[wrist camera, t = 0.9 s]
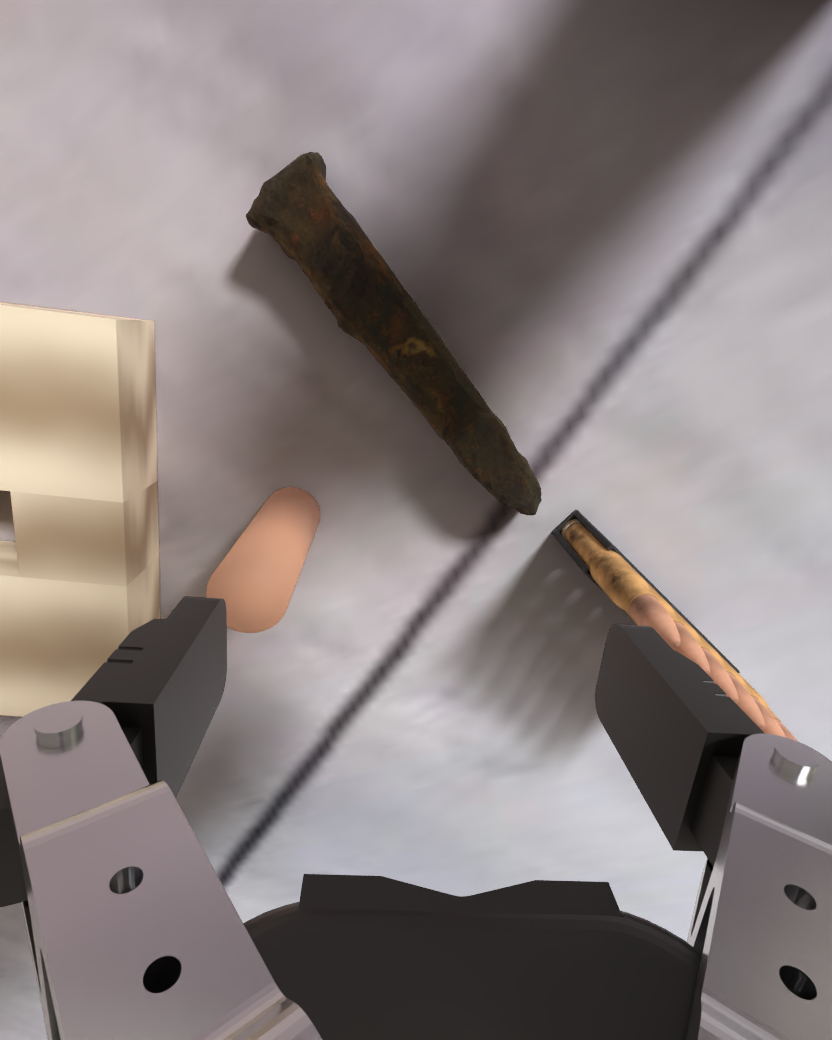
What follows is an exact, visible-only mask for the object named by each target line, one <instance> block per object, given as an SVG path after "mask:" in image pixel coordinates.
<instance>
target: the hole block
mask: <svg viewBox="0 0 832 1040" xmlns="http://www.w3.org/2000/svg"><path fill="white" fill-rule="evenodd" d="M0 490H2V491H10V493H11V503H12V512H13V522H14V531H15V541H16V542H13V541H3V540H0V715H6V716H20V717H23V716H25V715H27V714H29V713H31V712H33V711H35V710H38V709H40V708H43V707H46V706H49V705H52V704H57V703H61V702H68V701H71V700H72V699H73V698H74V696H75V695H76V694H77V693H78V692H79V691H80V690H81V688H82V687H83V686H84V685H85V684H86V683H87V682H88V680H89V679H90V678H91V677H92V676H93V675H94V674H95V672H96V671H97V670H98V669H99V668H100V667H101V666H102V664H103V663H104V662H107V659H108V658H109V656H110V655H111V654H112V653H113V652H114V651H115V650H116V649H118V646H119V645H120V644H121V643H122V642H123V640H124V639H125V638H126V637H127V636H128V635H129V634H130V632H131V631H133V630H135V629H136V628H138V627H140V626H142V625H144V624H145V623H147V622H149V621H151V620H153V619H160V574H159V526H158V478H157V430H156V383H155V335H154V321H149V320H141V319H133V318H125V317H117V316H109V315H101V314H93V313H85V312H77V311H69V310H61V309H53V308H45V307H37V306H29V305H21V304H13V303H5V302H0Z"/></svg>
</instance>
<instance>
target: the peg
mask: <svg viewBox="0 0 832 1040" xmlns="http://www.w3.org/2000/svg"><path fill="white" fill-rule="evenodd" d="M319 521H320V509H319V506H318V504H317V502H316V500H315V499H314V498H313V497H312V496H311V495H310V494H309V493H308V492H306V491H304V490H302V489H299V488H294V487H286V488H282V489H279V490H277V491H275V492H274V493H273V494H272V495H270V497H269V498H268V499H267V501H266V502H265V503H264V505H263V506H262V507H261V509H260V510H259V511H258V513H257V514H256V516H255V517H254V518H253V520H252V521H251V522H250V524H249V525H248V526H247V528H246V529H245V531H244V532H243V533H242V535H241V536H240V537H239V539H238V540H237V541H236V543H235V544H234V546H233V547H232V548H231V550H230V551H229V552H228V554H227V555H226V556H225V558H224V559H223V561H222V562H221V563H220V565H219V566H218V567H217V569H216V570H215V571H214V573H213V574H212V576H211V577H210V579H209V581H208V584H207V588H206V598H220V599H224V600H225V603H226V620H227V627H228V628H230V629H233V630H235V631H239V632H245V633H256V632H261V631H264V630H267V629H269V628H271V627H273V626H274V625H276V624H277V623H278V622H279V621H280V620H281V619H282V617H283V616H284V614H285V612H286V610H287V607H288V604H289V602H290V599H291V596H292V594H293V591H294V588H295V586H296V583H297V580H298V578H299V575H300V572H301V570H302V567H303V564H304V562H305V559H306V556H307V554H308V551H309V548H310V546H311V543H312V540H313V538H314V535H315V532H316V530H317V527H318V524H319Z"/></svg>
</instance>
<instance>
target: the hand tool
mask: <svg viewBox="0 0 832 1040" xmlns="http://www.w3.org/2000/svg"><path fill="white" fill-rule="evenodd" d="M246 218H247V220H248V223H249V224H250V225H251V226H252V227H253V228H256V229H258V230H260V231H263V232H265V233H267V234H269V235H271V236H272V237H273V238H274V239H275V240H276V241H277V242H278V243H279V244H280V246H281V247H282V249H283V251H284V252H285V254H286V255H287V256H288V257H290V258H293V259H295V260H296V261H297V262H298V263H299V265H300V266H301V268H302V269H303V271H304V272H305V274H306V275H307V276H308V277H309V279H310V281H311V282H312V284H313V285H314V287H315V289H316V290H317V292H318V293H319V294H320V296H321V297H322V298H323V299H324V301H325V304H326V305H327V307H328V308H329V309H330V310H331V311H332V312H333V314H334V315H335V316H336V318H337V321H338V325H339V327H340V328H341V329H342V330H343V331H344V332H346V333H348V334H350V335H351V336H353V337H354V338H356V339H358V340H359V341H361V342H362V343H364V344H365V345H366V347H367V348H368V349H369V351H370V352H371V353H372V354H373V355H374V356H375V358H376V359H377V361H378V362H379V363H380V364H381V365H382V366H383V368H384V369H385V370H386V371H387V372H388V373H389V375H390V376H391V377H392V378H393V379H394V380H395V382H396V383H397V384H398V385H399V386H400V387H401V388H402V390H403V391H404V392H405V393H406V394H407V396H408V397H409V398H410V400H411V401H412V402H413V404H414V405H415V406H416V407H417V408H418V409H419V410H420V412H421V413H422V414H423V415H424V416H425V417H426V419H427V420H428V421H429V423H430V424H431V426H432V427H433V428H434V430H435V431H436V432H437V434H438V435H439V436H440V437H441V438H442V439H444V440H445V441H446V443H447V444H448V445H449V446H450V448H451V449H452V450H453V452H454V453H455V455H456V456H457V458H458V459H459V461H460V462H461V463H462V464H463V465H464V467H465V468H466V469H467V470H468V471H469V472H470V473H471V474H472V476H473V477H474V478H475V479H476V480H478V481H479V482H480V483H481V484H482V485H483V486H484V487H485V488H486V489H487V490H488V491H489V492H490V493H491V494H492V495H493V496H495V497H496V498H497V499H498V500H499V501H500V502H501V503H503V504H504V505H508V506H509V507H512V508H514V509H516V510H517V511H518V512H520V513H521V514H525V515H535V514H536V512H537V509H538V506H539V504H540V502H541V488H540V485H539V483H538V481H537V479H536V477H535V475H534V474H533V472H532V470H531V468H530V466H529V464H528V462H527V460H526V458H524V457H523V456H522V455H521V454H520V453H519V452H518V451H517V449H516V447H515V445H514V443H513V441H512V440H511V438H510V436H509V433H508V431H507V429H506V427H505V426H504V424H503V423H502V421H501V420H500V419H499V418H498V417H497V416H495V415H494V414H493V413H492V411H491V410H490V408H489V407H488V406H487V404H486V402H485V401H484V399H483V398H482V396H481V395H480V394H479V392H478V391H477V390H476V388H475V387H474V386H473V384H472V383H471V382H470V380H469V379H468V377H467V376H466V374H465V373H464V372H463V371H462V370H461V368H460V367H459V365H458V364H457V362H456V361H455V359H454V358H453V356H452V355H451V353H450V352H449V350H448V349H447V348H446V346H445V345H444V343H443V342H442V340H441V339H440V337H439V336H438V334H437V333H436V331H435V330H434V328H433V327H432V326H431V324H430V323H429V322H428V320H427V319H426V318H425V317H424V315H423V314H422V312H421V311H420V309H419V308H418V306H417V305H416V303H415V302H414V301H413V299H412V298H411V297H410V295H409V294H408V293H407V292H406V290H405V289H404V288H403V286H402V285H401V283H400V282H399V281H398V279H397V278H396V276H395V275H394V273H393V272H392V271H391V269H390V268H389V266H388V265H387V263H386V262H385V260H384V259H383V258H382V256H381V255H380V254H379V253H378V251H377V250H376V249H375V247H374V246H373V245H372V243H371V242H370V240H369V239H368V237H367V236H366V234H365V233H364V232H363V230H362V229H361V227H360V226H359V224H358V223H357V221H356V220H355V218H354V217H353V216H352V215H351V214H350V213H349V212H348V211H347V210H346V209H345V208H344V206H343V205H342V204H341V202H340V201H339V200H338V198H337V197H336V196H335V195H334V193H333V192H332V191H331V189H330V188H329V187H328V185H327V183H326V165H325V163H324V160H323V158H322V156H321V155H320V154H319V153H313V152H309V153H306V154H303V155H301V156H299V157H298V158H297V159H295V160H294V161H293V162H292V163H290V164H289V165H288V166H286V167H285V168H284V169H283V170H281V171H280V172H279V173H277V174H276V175H275V176H273V177H272V178H270V179H269V180H267V181H266V182H264V184H263V186H262V188H261V190H260V193H259V196H258V197H257V198H256V199H255V200H254V202H253V204H252V207H251V209H250V211H249V212H248V213H247V214H246Z"/></svg>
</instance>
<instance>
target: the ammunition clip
mask: <svg viewBox="0 0 832 1040" xmlns="http://www.w3.org/2000/svg"><path fill="white" fill-rule="evenodd" d="M552 534H553V535H554V536H555V538H556V539H557V540H558V541H559V542H560V544H561V545H562V546H563V547H564V549H565V550H566V551H567V552H568V554H569V555H570V556H571V557H572V558H573V560H574V561H575V562H576V563H577V565H578V566H579V567H580V568H581V570H582V571H583V572H584V573H585V574H586V575H587V576H588V577H589V578H590V579H591V580H592V581H593V582H594V583H595V584H596V585H597V586H599V587H600V588H601V589H602V590H603V591H604V592H605V593H606V594H607V595H608V597H609V598H610V599H611V600H612V601H613V602H614V603H615V604H616V605H617V606H618V607H620V608H621V609H622V610H623V611H624V612H626V613H627V614H628V615H629V616H630V617H631V618H632V619H633V621H634V622H635V623H636V624H637V625H638V626H650V627H652V628H653V629H654V630H655V631H656V632H657V633H658V634H659V635H660V636H661V637H662V638H663V639H664V640H665V641H666V642H667V643H668V645H669V646H670V647H671V648H672V649H673V650H674V651H677V652H679V653H680V654H682V655H684V656H685V657H687V658H688V659H690V660H692V661H693V662H695V663H696V664H698V665H699V666H700V667H701V668H702V669H703V670H704V671H705V672H706V673H707V674H708V675H709V676H710V677H711V678H712V679H713V680H714V681H713V682H714V683H715V684H718V686H719V687H720V688H721V689H722V690H723V691H724V692H725V693H726V697H730V698H731V699H732V700H733V701H734V702H735V703H736V704H737V705H738V706H739V707H740V708H741V709H742V710H743V711H744V712H745V713H746V715H747V716H748V717H749V718H750V719H751V720H752V721H753V722H754V723H755V724H756V725H757V726H758V727H759V728H760V729H761V730H762V731H763V732H764V733H765V734H773V735H778V736H782V737H786V738H789V739H792V740H795V741H797V740H796V739H795V737H794V736H793V735H792V734H791V733H790V732H789V731H788V730H787V728H786V727H785V726H784V725H783V724H782V723H781V721H780V720H779V719H778V718H777V717H776V716H775V715H774V713H773V712H772V711H771V710H770V708H769V707H768V705H767V704H766V702H765V700H764V699H763V698H762V697H761V696H760V695H759V694H758V693H757V692H756V691H755V690H754V689H753V688H752V687H751V686H750V685H749V684H748V683H747V682H746V681H745V680H744V679H743V678H742V677H741V676H740V675H739V673H740V672H739V670H738V669H737V668H736V667H735V666H734V665H733V664H732V663H731V662H730V661H729V660H728V659H727V658H726V657H725V656H724V655H723V654H722V653H721V652H720V651H719V650H718V649H717V648H716V647H715V646H714V645H713V644H712V643H711V642H710V641H709V640H708V639H707V638H706V637H705V636H704V635H703V634H702V633H701V632H700V631H699V630H698V629H697V628H696V627H695V626H694V625H693V624H692V623H691V622H690V621H689V620H688V619H687V618H686V617H685V616H684V615H683V614H682V613H681V612H680V611H679V610H678V609H677V608H676V607H675V606H674V605H673V604H672V603H671V602H670V601H669V600H668V599H667V598H666V597H665V596H664V595H663V594H662V593H661V592H660V591H659V590H658V589H657V588H656V587H655V586H654V585H653V584H652V583H651V582H650V581H649V580H648V579H647V578H646V577H645V576H644V575H643V574H642V573H641V572H640V571H639V570H638V569H637V568H636V567H635V566H634V565H633V564H632V563H631V562H630V561H629V560H628V559H627V558H626V557H625V556H624V555H623V554H622V553H621V552H620V551H619V550H618V549H617V548H616V547H615V546H614V545H613V544H612V543H611V542H610V541H609V540H608V539H607V538H606V537H605V536H604V535H603V534H601V533H600V532H599V531H598V530H597V529H596V528H595V527H594V526H593V525H592V524H591V523H590V522H589V521H588V520H587V519H586V518H585V517H584V516H583V515H582V514H581V513H580V512H579V511H578V510H575V511H574V512H573V513H572V514H571V515H570V516H568V517H567V518H566V519H565V520H564V521H563V522H562V523H561V524H560V525H559V526H558V527H557V528H556V529H555V530H553V531H552ZM797 742H798V741H797Z"/></svg>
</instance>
